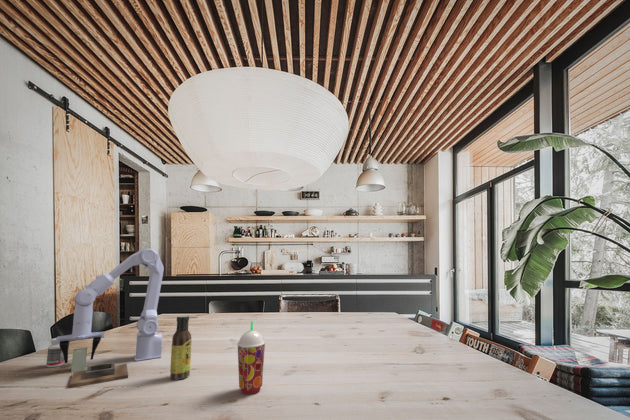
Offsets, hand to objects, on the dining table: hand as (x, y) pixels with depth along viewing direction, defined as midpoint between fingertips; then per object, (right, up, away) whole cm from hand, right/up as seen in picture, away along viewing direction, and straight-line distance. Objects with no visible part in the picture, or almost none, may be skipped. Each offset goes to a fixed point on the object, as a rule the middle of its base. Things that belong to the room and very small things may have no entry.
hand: (79, 360), depth 119 cm
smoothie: (+67, +1, -21) cm, 70 cm away
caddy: (+13, -2, -8) cm, 15 cm away
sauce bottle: (+41, -2, -9) cm, 42 cm away
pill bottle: (-13, -4, +5) cm, 14 cm away
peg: (0, -3, 0) cm, 3 cm away
